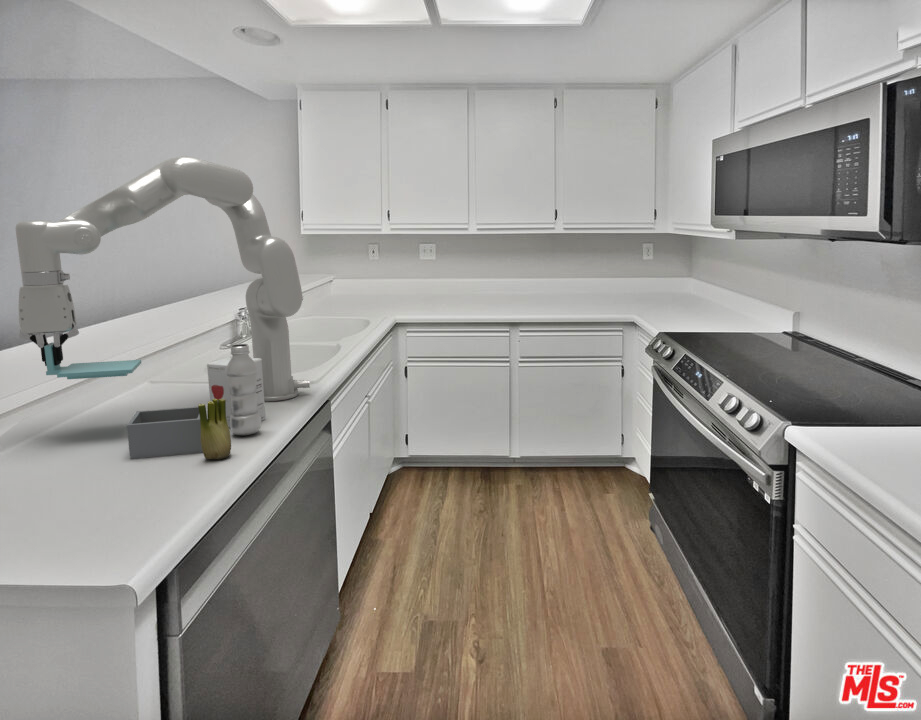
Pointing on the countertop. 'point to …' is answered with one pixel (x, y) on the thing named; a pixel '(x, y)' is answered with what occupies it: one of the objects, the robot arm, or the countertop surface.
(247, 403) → the plastic bottle
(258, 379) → the supplement box
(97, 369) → the lid
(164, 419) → the tub
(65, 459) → the countertop surface
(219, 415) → the fennel bulb
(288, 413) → the countertop surface
